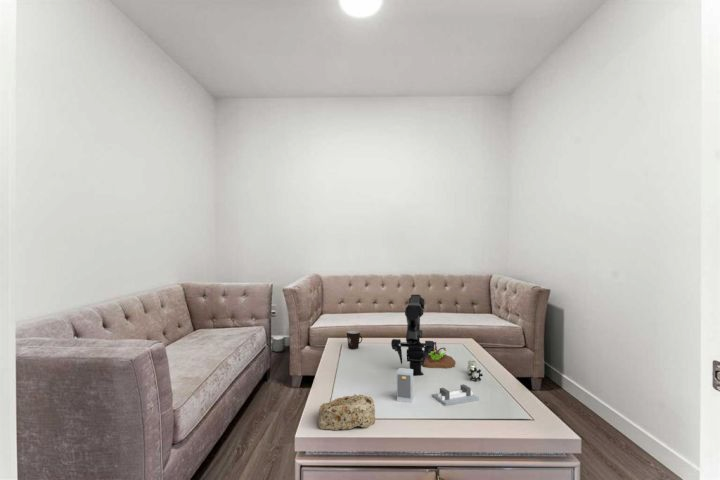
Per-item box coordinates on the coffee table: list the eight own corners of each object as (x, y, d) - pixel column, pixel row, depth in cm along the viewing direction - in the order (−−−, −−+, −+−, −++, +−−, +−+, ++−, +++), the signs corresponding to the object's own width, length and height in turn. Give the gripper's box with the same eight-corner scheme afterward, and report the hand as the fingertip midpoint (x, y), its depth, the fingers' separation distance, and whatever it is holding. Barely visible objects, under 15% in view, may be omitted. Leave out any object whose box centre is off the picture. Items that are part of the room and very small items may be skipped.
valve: (464, 373, 183) (468, 381, 172) (464, 359, 184) (468, 367, 172) (478, 373, 183) (482, 382, 171) (477, 360, 183) (482, 368, 171)
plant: (452, 358, 209) (452, 338, 209) (457, 369, 189) (457, 348, 190) (417, 357, 211) (416, 337, 211) (418, 368, 192) (418, 346, 192)
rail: (445, 406, 145) (445, 395, 145) (432, 396, 154) (432, 386, 154) (478, 400, 150) (478, 389, 150) (463, 391, 160) (463, 381, 160)
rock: (318, 437, 123) (315, 405, 125) (320, 426, 137) (318, 398, 139) (378, 427, 124) (374, 396, 127) (375, 418, 138) (371, 390, 141)
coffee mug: (345, 346, 232) (345, 331, 233) (357, 345, 235) (357, 330, 235) (349, 351, 221) (349, 335, 222) (363, 350, 224) (363, 334, 224)
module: (399, 396, 154) (398, 367, 154) (413, 398, 152) (413, 369, 153) (396, 401, 149) (396, 372, 149) (411, 403, 147) (411, 373, 147)
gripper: (391, 321, 162) (388, 356, 153) (434, 323, 158) (434, 358, 149) (393, 332, 171) (391, 365, 161) (434, 334, 167) (434, 368, 157)
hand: (412, 364), depth 157 cm, fingers open, 9 cm apart
